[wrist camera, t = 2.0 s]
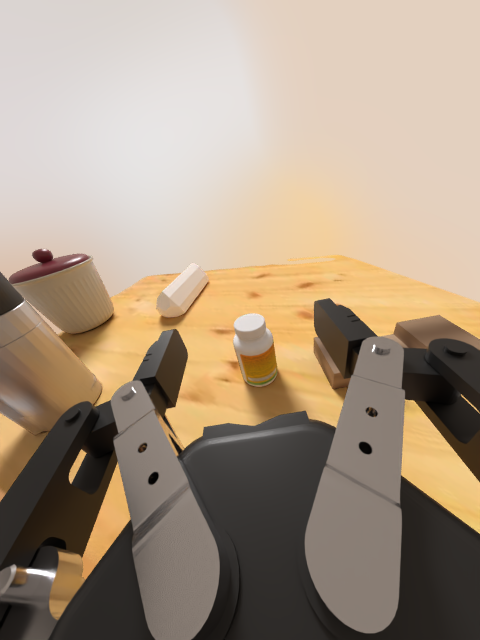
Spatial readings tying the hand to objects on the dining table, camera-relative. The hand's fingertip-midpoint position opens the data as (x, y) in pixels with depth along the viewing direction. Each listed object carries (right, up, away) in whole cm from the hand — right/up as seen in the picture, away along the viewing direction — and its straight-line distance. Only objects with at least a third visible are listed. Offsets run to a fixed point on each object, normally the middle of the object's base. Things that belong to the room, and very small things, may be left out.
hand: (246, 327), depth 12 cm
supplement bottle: (+3, -8, +19) cm, 21 cm away
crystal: (-16, +7, +48) cm, 51 cm away
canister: (-43, 0, +46) cm, 63 cm away
